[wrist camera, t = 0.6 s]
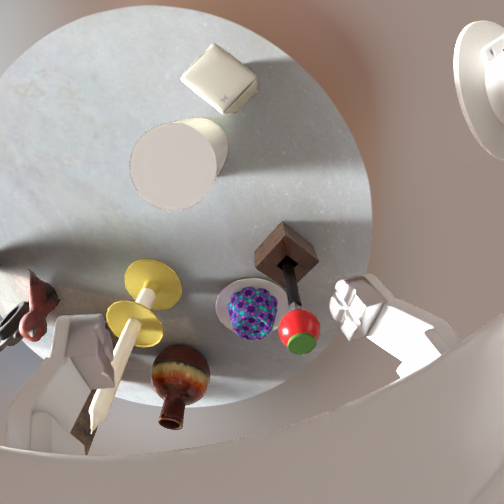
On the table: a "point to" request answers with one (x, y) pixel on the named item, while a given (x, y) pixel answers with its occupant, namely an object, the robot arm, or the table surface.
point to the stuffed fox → (37, 309)
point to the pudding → (252, 307)
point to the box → (221, 80)
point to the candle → (136, 321)
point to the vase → (179, 382)
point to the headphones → (12, 325)
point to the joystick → (297, 317)
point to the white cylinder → (178, 162)
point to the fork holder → (280, 246)
